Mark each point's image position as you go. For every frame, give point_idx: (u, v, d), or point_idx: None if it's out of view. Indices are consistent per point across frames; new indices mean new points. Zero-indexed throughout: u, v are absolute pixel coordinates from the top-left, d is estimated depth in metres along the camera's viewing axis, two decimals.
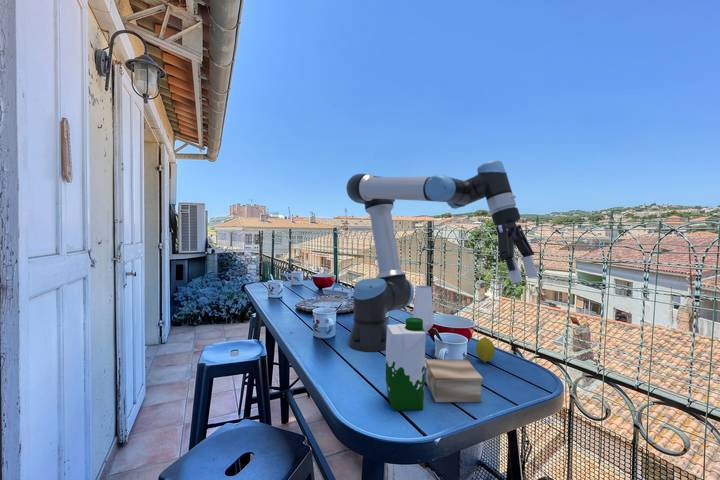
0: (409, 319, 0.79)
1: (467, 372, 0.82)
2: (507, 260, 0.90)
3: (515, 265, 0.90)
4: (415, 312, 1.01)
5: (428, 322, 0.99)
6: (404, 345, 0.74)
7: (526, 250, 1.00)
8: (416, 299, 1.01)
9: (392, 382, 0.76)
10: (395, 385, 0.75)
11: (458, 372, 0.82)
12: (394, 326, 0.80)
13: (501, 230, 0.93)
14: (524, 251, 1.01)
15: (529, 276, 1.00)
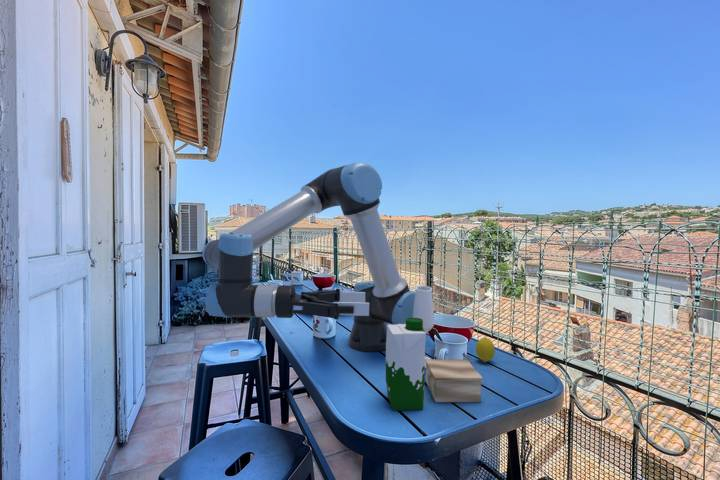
0: (409, 319, 0.79)
1: (467, 372, 0.82)
2: None
3: None
4: (415, 315, 0.98)
5: (428, 324, 0.97)
6: (404, 345, 0.74)
7: None
8: (416, 301, 0.98)
9: (392, 382, 0.76)
10: (395, 385, 0.75)
11: (458, 372, 0.82)
12: (394, 326, 0.80)
13: None
14: None
15: None
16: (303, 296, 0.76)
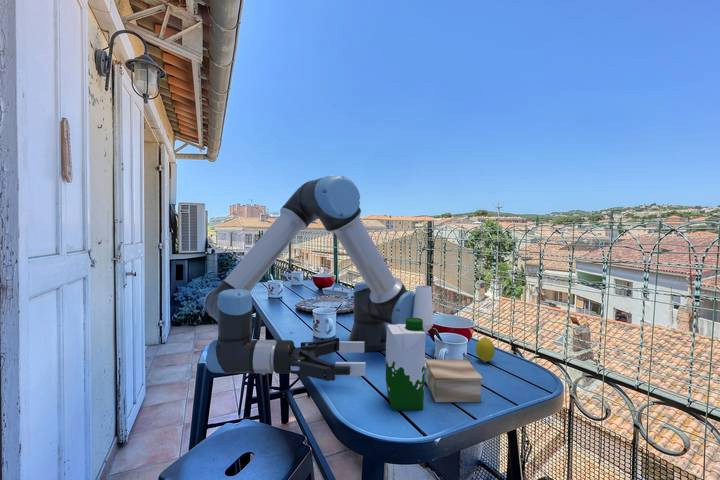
0: (409, 319, 0.79)
1: (467, 372, 0.82)
2: None
3: None
4: (415, 312, 1.01)
5: (428, 322, 0.99)
6: (404, 345, 0.74)
7: None
8: (416, 299, 1.01)
9: (392, 382, 0.76)
10: (395, 385, 0.75)
11: (458, 372, 0.82)
12: (394, 326, 0.80)
13: None
14: None
15: None
16: (301, 353, 0.76)
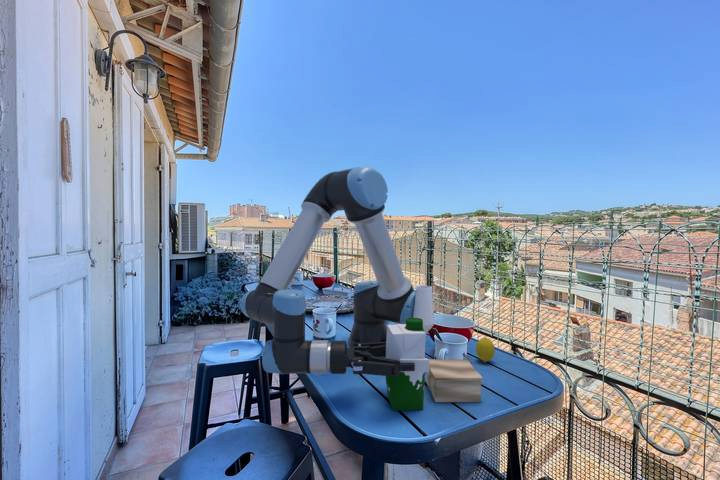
0: (409, 319, 0.79)
1: (467, 372, 0.82)
2: None
3: None
4: (415, 312, 1.01)
5: (428, 322, 0.99)
6: (404, 345, 0.74)
7: None
8: (417, 299, 1.01)
9: (392, 382, 0.76)
10: (395, 385, 0.75)
11: (458, 372, 0.82)
12: (394, 326, 0.80)
13: None
14: None
15: None
16: (357, 353, 0.76)
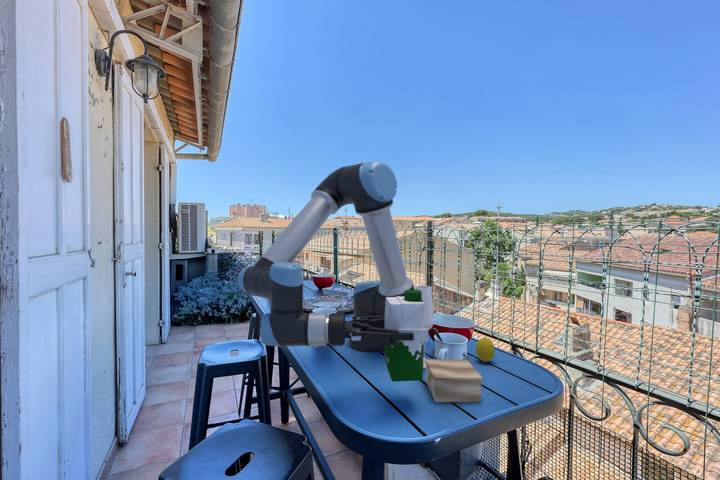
0: (408, 291, 0.78)
1: (467, 372, 0.82)
2: None
3: None
4: None
5: (428, 322, 0.99)
6: (402, 316, 0.73)
7: None
8: None
9: (391, 353, 0.75)
10: (394, 355, 0.75)
11: (458, 372, 0.82)
12: (393, 298, 0.80)
13: None
14: None
15: None
16: (356, 324, 0.76)
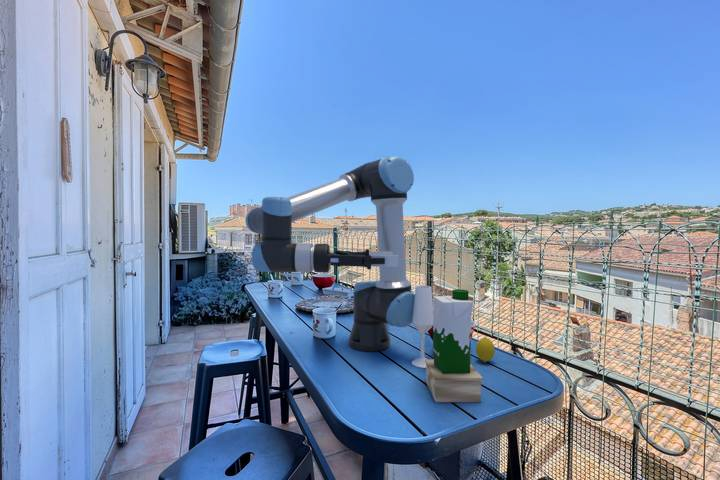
0: (455, 290, 0.85)
1: None
2: None
3: None
4: (415, 313, 1.01)
5: (428, 322, 0.99)
6: (453, 313, 0.80)
7: None
8: (416, 299, 1.01)
9: (442, 348, 0.82)
10: (445, 349, 0.81)
11: None
12: (441, 297, 0.86)
13: None
14: None
15: None
16: (338, 252, 0.84)
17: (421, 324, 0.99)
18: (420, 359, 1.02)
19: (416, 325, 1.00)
